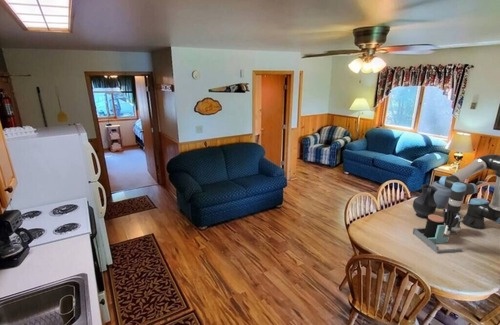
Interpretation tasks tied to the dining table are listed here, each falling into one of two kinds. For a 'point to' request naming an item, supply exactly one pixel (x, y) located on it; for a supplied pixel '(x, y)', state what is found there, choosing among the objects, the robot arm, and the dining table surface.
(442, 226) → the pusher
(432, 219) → the coffee jar
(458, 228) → the apothecary jar
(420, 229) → the grey piece
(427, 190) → the pitcher
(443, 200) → the vase
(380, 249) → the dining table surface
